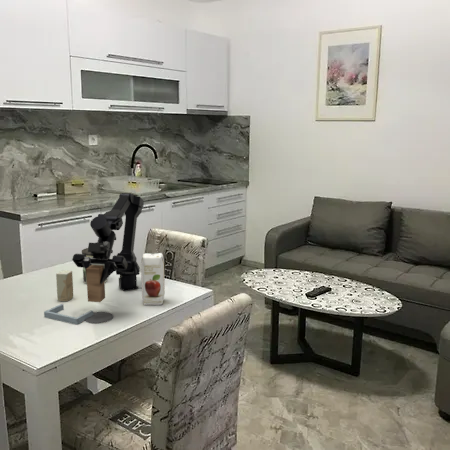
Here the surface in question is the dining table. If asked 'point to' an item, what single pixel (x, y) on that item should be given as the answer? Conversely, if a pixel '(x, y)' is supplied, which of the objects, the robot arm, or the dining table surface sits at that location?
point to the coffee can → (88, 254)
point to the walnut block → (95, 283)
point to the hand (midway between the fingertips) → (94, 283)
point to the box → (64, 285)
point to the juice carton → (152, 279)
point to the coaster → (100, 317)
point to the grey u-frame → (54, 315)
